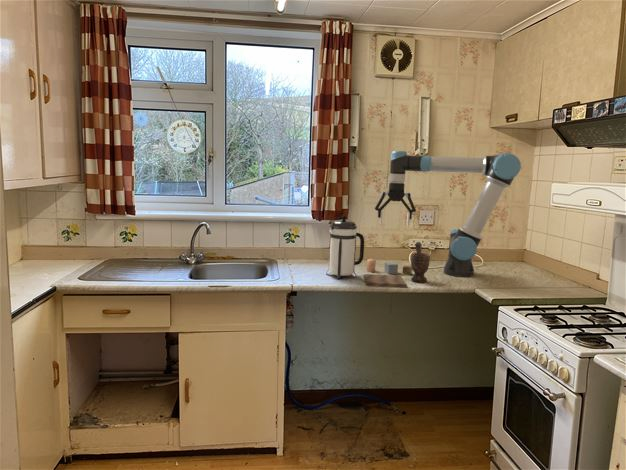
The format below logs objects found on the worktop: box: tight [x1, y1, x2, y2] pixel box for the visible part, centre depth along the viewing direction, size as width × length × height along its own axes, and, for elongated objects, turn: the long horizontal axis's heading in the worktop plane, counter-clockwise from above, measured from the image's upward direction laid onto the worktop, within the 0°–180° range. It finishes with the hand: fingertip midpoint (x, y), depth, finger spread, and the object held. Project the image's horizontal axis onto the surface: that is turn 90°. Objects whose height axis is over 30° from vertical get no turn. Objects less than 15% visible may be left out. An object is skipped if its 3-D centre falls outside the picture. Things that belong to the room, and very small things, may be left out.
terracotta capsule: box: [366, 258, 377, 273], centre depth 234 cm, size 4×4×6 cm
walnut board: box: [363, 273, 408, 288], centre depth 213 cm, size 18×16×2 cm
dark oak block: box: [401, 265, 413, 276], centre depth 231 cm, size 4×4×4 cm
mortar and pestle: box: [410, 241, 431, 284], centre depth 214 cm, size 12×9×20 cm
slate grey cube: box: [383, 261, 399, 275], centre depth 232 cm, size 5×5×5 cm
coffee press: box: [325, 214, 365, 281], centre depth 220 cm, size 17×16×30 cm
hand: (394, 225), depth 228 cm, fingers open, 13 cm apart
